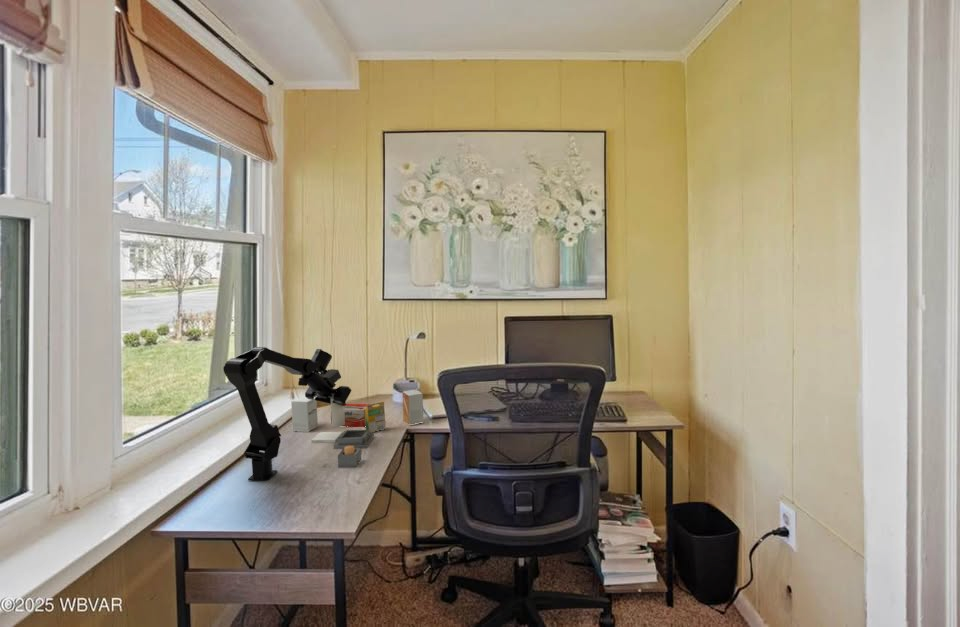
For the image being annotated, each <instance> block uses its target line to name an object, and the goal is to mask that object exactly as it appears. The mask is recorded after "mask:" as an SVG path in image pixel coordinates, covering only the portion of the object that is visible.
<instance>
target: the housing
mask: <svg viewBox="0 0 960 627" xmlns="http://www.w3.org/2000/svg"><path fill="white" fill-rule="evenodd" d="M373 437H375V433H370V431H369V430H366V429H346V430H344V431H342V434H341V435H340V436H339V437H338V440H337V441H336V442H334V444H333V445H332V446H333V449H334V450H335V449H336V450H337V449H338V448H340V449H344V447H346V446H350V445H352V446H354V448H361V449H367V448H368V447H369V445H370V444H371V442H372V441H373V440H374V438H373ZM371 440H372V441H371ZM369 443H370V444H369ZM367 446H368V447H367Z"/></svg>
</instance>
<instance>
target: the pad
mask: <svg viewBox="0 0 960 627" xmlns="http://www.w3.org/2000/svg"><path fill="white" fill-rule="evenodd" d="M342 433H343V431H325V432H324V431H320V432H318V433H317V434H316V435H315V436H314V437H313V438H312V439H311V440H310V441H311V443H312V444H313V443H314V444H315V443H316V444H318V443H319V444H321V443H336V442H337V441H338V437H339V436H340V435H341V434H342Z"/></svg>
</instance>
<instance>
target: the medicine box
mask: <svg viewBox="0 0 960 627" xmlns="http://www.w3.org/2000/svg"><path fill="white" fill-rule="evenodd" d="M370 404H371V403H370ZM370 404H369V403H346V405H345V406H344V415H345V425H343V426H346V427H345V428H353V427H365V426H366V418H365V408H368V405H370ZM330 422H331V425H332V418H331V417H330ZM347 426H348V427H347ZM365 428H366V427H365Z"/></svg>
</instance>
